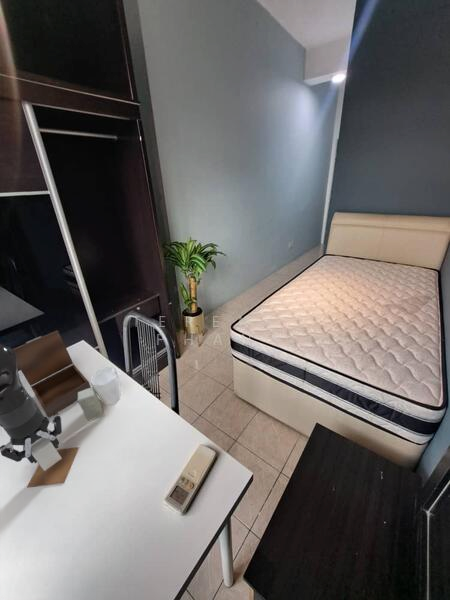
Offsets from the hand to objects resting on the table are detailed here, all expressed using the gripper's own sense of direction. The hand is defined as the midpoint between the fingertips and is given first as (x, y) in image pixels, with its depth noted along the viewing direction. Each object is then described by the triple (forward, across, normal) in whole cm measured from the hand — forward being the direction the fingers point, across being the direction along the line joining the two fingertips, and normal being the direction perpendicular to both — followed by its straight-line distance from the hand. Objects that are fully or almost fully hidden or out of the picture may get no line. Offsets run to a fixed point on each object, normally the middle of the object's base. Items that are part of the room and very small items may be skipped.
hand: (46, 453), depth 70 cm
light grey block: (+3, 0, 0) cm, 3 cm away
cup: (+7, -23, -10) cm, 26 cm away
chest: (+7, -12, -27) cm, 30 cm away
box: (+7, -16, -8) cm, 19 cm away
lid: (-8, -12, -35) cm, 38 cm away
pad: (+7, 0, 0) cm, 7 cm away
